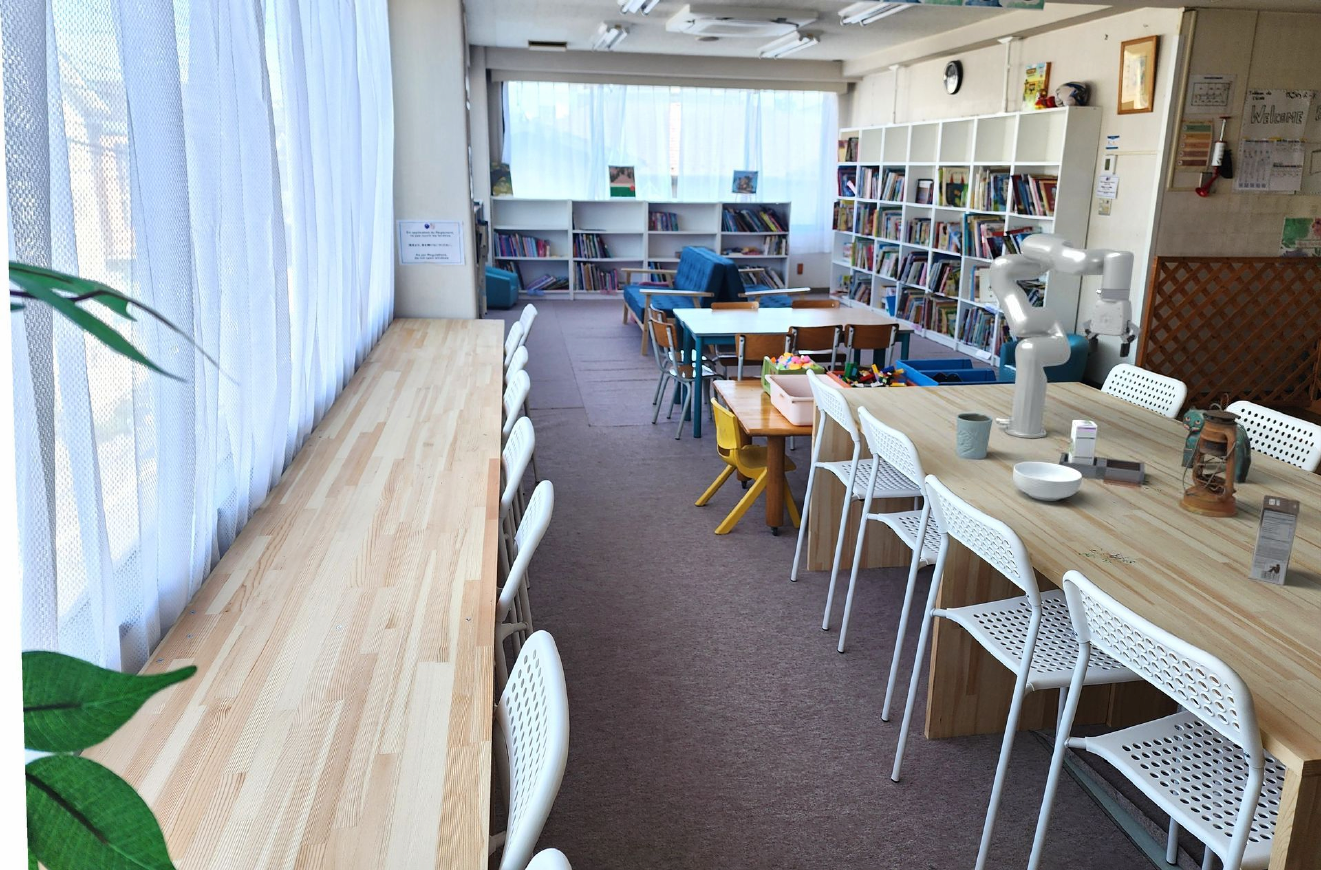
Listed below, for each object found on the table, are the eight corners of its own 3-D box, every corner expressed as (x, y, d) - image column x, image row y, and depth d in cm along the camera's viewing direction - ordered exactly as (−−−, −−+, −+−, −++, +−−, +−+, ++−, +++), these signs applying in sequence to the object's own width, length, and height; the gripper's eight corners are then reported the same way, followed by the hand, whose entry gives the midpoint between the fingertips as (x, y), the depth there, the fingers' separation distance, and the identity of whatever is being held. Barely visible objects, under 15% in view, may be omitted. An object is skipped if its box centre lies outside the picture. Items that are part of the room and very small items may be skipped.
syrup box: (1092, 475, 263) (1099, 425, 259) (1070, 473, 264) (1076, 424, 260) (1087, 469, 268) (1094, 420, 264) (1065, 467, 269) (1072, 419, 265)
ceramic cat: (1173, 464, 273) (1184, 398, 268) (1189, 462, 275) (1200, 396, 270) (1236, 485, 255) (1249, 414, 250) (1252, 482, 258) (1266, 412, 252)
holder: (1056, 477, 261) (1058, 465, 260) (1060, 464, 273) (1061, 452, 272) (1142, 488, 252) (1144, 476, 251) (1142, 474, 264) (1144, 462, 263)
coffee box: (1251, 564, 203) (1264, 494, 199) (1286, 571, 200) (1300, 500, 195) (1248, 578, 196) (1262, 505, 192) (1284, 585, 193) (1299, 512, 188)
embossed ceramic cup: (990, 453, 283) (994, 415, 280) (986, 462, 274) (990, 422, 271) (955, 449, 287) (959, 411, 284) (950, 457, 278) (954, 418, 275)
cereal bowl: (1072, 511, 234) (1076, 484, 233) (1004, 499, 243) (1007, 473, 241) (1083, 492, 248) (1087, 467, 246) (1018, 481, 257) (1021, 457, 255)
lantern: (1253, 520, 229) (1275, 401, 221) (1199, 519, 229) (1220, 401, 221) (1214, 497, 245) (1234, 386, 237) (1165, 496, 246) (1183, 385, 237)
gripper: (1079, 293, 271) (1073, 351, 275) (1136, 298, 257) (1128, 360, 261) (1094, 292, 275) (1088, 349, 279) (1151, 296, 260) (1144, 357, 265)
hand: (1108, 354), depth 270 cm, fingers open, 9 cm apart
